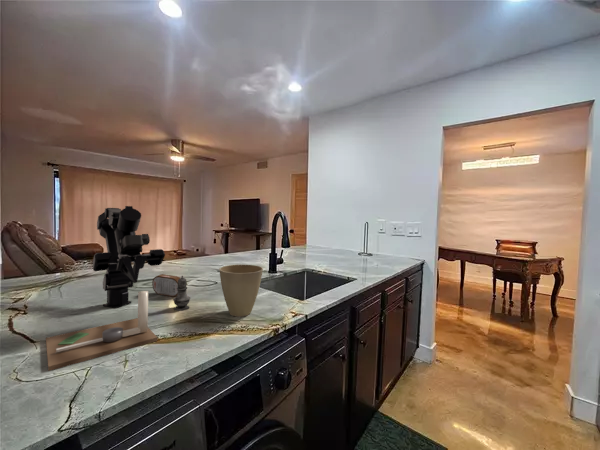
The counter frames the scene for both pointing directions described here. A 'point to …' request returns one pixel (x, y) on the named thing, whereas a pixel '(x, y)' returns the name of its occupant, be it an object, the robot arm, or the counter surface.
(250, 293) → the plant pot
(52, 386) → the counter surface
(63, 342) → the dial plate
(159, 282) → the tin
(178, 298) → the salt shaker
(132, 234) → the robot arm
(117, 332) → the crank handle
